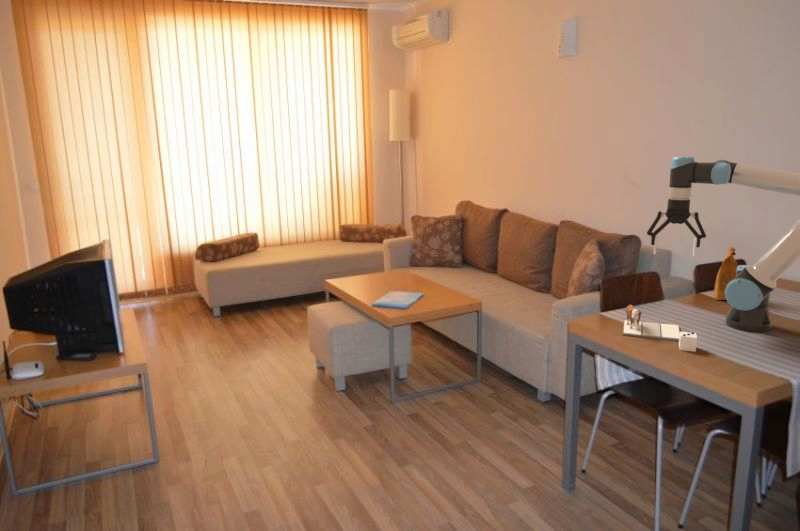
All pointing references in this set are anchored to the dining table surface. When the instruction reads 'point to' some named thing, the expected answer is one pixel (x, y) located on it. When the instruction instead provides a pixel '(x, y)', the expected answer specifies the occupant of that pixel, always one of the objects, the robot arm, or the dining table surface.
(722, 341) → the dining table surface
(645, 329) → the game board
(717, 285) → the coffee package
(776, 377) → the dining table surface
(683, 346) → the white block with holes
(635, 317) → the bull figurine
